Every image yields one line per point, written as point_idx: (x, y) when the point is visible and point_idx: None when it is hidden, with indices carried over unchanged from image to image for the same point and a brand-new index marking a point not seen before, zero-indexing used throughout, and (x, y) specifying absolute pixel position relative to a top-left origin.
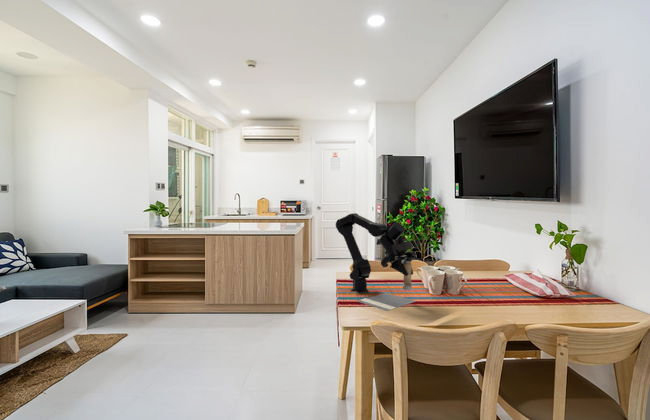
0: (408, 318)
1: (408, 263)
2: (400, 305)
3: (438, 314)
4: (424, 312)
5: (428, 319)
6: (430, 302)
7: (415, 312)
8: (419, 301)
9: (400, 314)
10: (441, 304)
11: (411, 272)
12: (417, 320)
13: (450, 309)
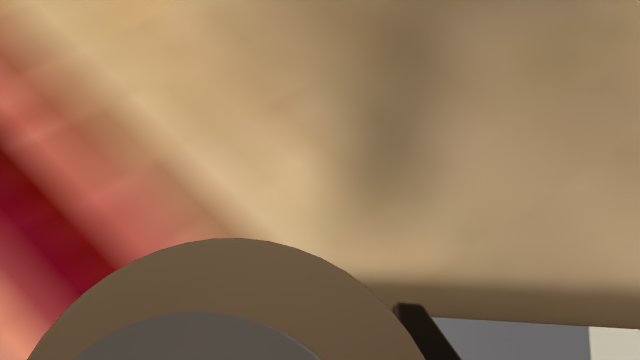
0: (637, 128)
1: (311, 348)
2: (485, 340)
3: (337, 11)
4: (382, 115)
5: (515, 7)
6: (39, 234)
7: (447, 172)
8: None
9: (614, 239)
10: (34, 124)
11: None
12: (611, 53)
13: (131, 4)
